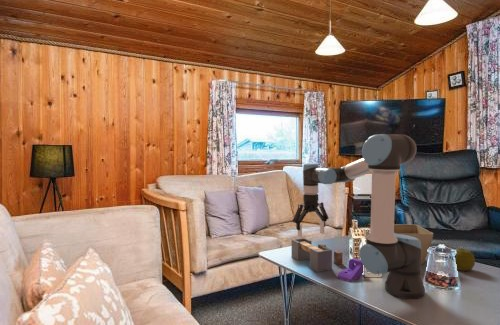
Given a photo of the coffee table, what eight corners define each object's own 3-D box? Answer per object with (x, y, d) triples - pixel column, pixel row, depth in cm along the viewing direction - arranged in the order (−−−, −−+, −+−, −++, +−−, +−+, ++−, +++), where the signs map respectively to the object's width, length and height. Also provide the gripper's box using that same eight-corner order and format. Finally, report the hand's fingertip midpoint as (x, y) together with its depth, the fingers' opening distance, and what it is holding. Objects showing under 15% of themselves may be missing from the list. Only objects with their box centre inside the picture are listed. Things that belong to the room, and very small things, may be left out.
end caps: (331, 269, 167) (332, 249, 167) (317, 271, 164) (317, 252, 163) (304, 254, 189) (304, 237, 189) (291, 256, 186) (291, 239, 185)
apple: (470, 275, 158) (470, 251, 158) (447, 269, 166) (448, 247, 165) (477, 270, 165) (478, 247, 164) (455, 264, 172) (456, 243, 172)
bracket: (350, 271, 165) (351, 257, 164) (364, 275, 160) (364, 261, 159) (337, 278, 157) (337, 263, 156) (350, 282, 152) (350, 267, 151)
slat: (324, 255, 169) (324, 250, 169) (317, 256, 167) (317, 251, 167) (304, 245, 185) (304, 241, 185) (298, 246, 184) (298, 242, 184)
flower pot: (433, 267, 169) (434, 233, 168) (394, 266, 170) (395, 233, 169) (415, 254, 188) (416, 224, 187) (380, 254, 189) (381, 224, 188)
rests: (342, 263, 174) (342, 252, 174) (337, 264, 173) (337, 253, 173) (322, 254, 190) (322, 243, 189) (318, 254, 188) (318, 244, 188)
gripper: (326, 191, 183) (326, 230, 184) (285, 194, 173) (286, 235, 174) (335, 192, 176) (335, 233, 177) (293, 196, 166) (293, 239, 167)
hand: (311, 234), depth 175 cm, fingers open, 13 cm apart
